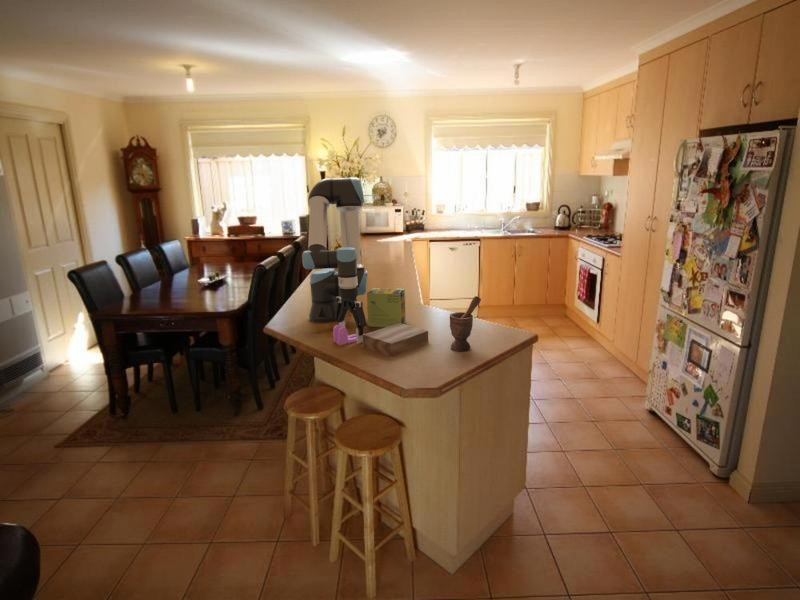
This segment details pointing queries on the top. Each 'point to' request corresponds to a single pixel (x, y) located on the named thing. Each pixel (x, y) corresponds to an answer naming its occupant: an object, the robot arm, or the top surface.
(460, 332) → the mortar and pestle
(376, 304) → the protein box
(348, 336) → the bracket
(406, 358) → the top surface
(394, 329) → the walnut block
